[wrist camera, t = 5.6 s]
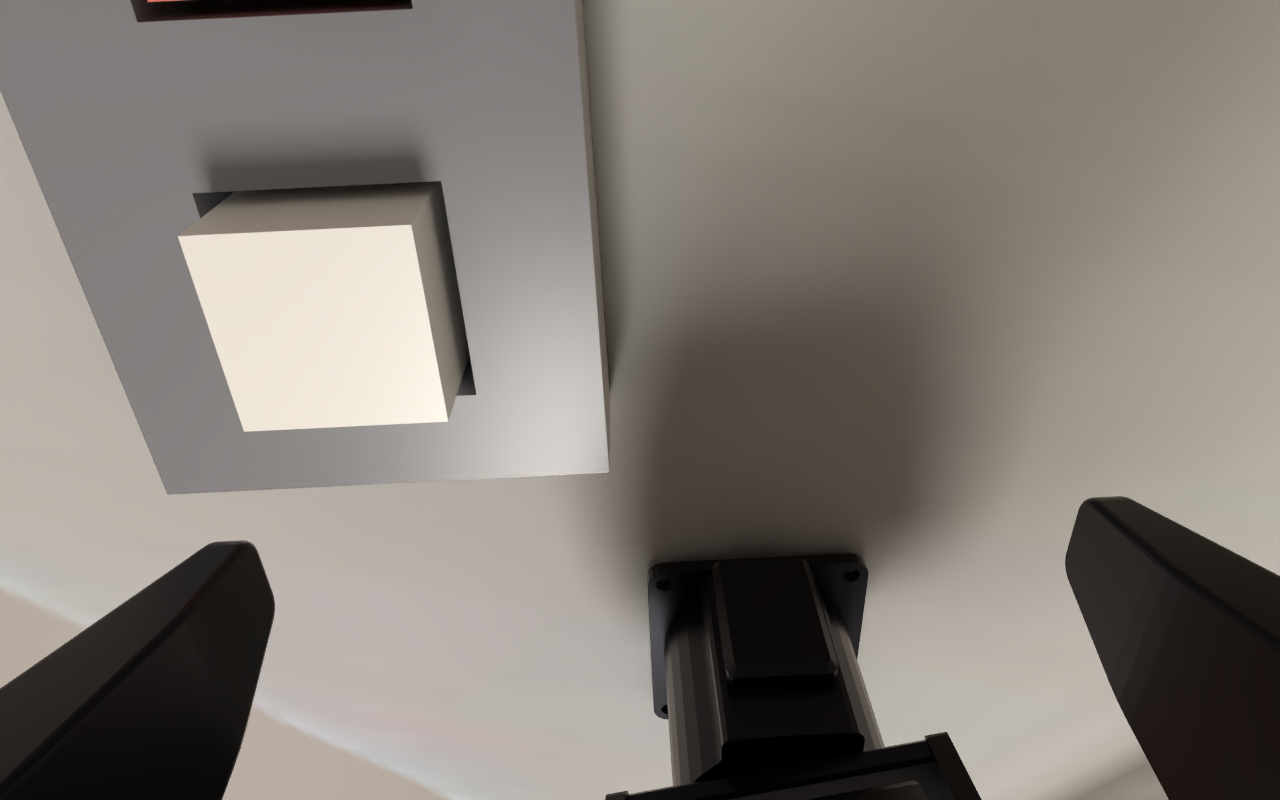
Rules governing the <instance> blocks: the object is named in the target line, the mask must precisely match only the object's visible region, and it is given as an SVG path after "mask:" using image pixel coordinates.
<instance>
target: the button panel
mask: <svg viewBox="0 0 1280 800" xmlns="http://www.w3.org/2000/svg"><path fill="white" fill-rule="evenodd" d="M0 91H1V93H2V96H3V98H4V101H5V103H6V105H7V108H8V110H9V113H10V115H11V117H12V120H13V122H14V125H15V127H16V129H17V132H18V134H19V137H20V139H21V142H22V144H23V146H24V149H25V151H26V154H27V156H28V158H29V161H30V163H31V166H32V168H33V171H34V173H35V175H36V178H37V180H38V183H39V185H40V187H41V190H42V192H43V195H44V197H45V200H46V202H47V204H48V207H49V209H50V212H51V214H52V216H53V219H54V221H55V224H56V226H57V228H58V231H59V233H60V236H61V238H62V241H63V243H64V245H65V248H66V250H67V253H68V255H69V257H70V260H71V262H72V265H73V267H74V270H75V272H76V274H77V277H78V279H79V282H80V284H81V286H82V289H83V291H84V294H85V296H86V299H87V301H88V303H89V306H90V308H91V311H92V313H93V315H94V318H95V320H96V323H97V325H98V327H99V330H100V332H101V335H102V337H103V340H104V342H105V344H106V347H107V349H108V352H109V354H110V356H111V359H112V361H113V364H114V366H115V369H116V371H117V373H118V376H119V378H120V381H121V383H122V385H123V388H124V390H125V393H126V395H127V398H128V400H129V402H130V405H131V407H132V410H133V412H134V414H135V417H136V419H137V422H138V424H139V426H140V429H141V431H142V434H143V436H144V439H145V441H146V443H147V446H148V448H149V451H150V453H151V455H152V458H153V460H154V463H155V465H156V468H157V470H158V472H159V475H160V477H161V480H162V482H163V484H164V487H165V489H166V492H167V494H168V495H169V494H189V493H209V492H229V491H249V490H269V489H289V488H309V487H330V486H350V485H370V484H390V483H410V482H430V481H450V480H470V479H490V478H510V477H530V476H551V475H571V474H591V473H609V442H610V390H609V375H608V361H607V346H606V332H605V318H604V303H603V289H602V274H601V260H600V246H599V231H598V217H597V202H596V188H595V174H594V159H593V145H592V130H591V116H590V101H589V87H588V73H587V58H586V44H585V29H584V15H583V1H582V0H180V1H159V2H148V1H147V0H0ZM433 181H441V183H442V189H443V195H444V201H445V207H446V213H447V219H448V225H449V231H450V237H451V243H452V249H453V256H454V262H455V268H456V274H457V280H458V286H459V292H460V298H461V304H462V310H463V316H464V322H465V328H466V335H467V341H468V347H469V353H470V354H469V357H468V360H467V363H466V367H465V370H464V373H463V376H462V379H461V383H460V386H459V389H458V392H457V395H456V399H455V402H454V405H453V408H452V411H451V415H450V418H449V421H448V422H431V423H411V424H390V425H370V426H350V427H330V428H310V429H290V430H270V431H249V432H244V430H243V427H242V424H241V421H240V418H239V416H238V413H237V410H236V407H235V404H234V401H233V398H232V395H231V392H230V389H229V386H228V383H227V380H226V377H225V374H224V371H223V368H222V365H221V362H220V360H219V357H218V354H217V351H216V348H215V345H214V342H213V339H212V336H211V333H210V330H209V327H208V324H207V321H206V318H205V315H204V312H203V309H202V306H201V303H200V301H199V298H198V295H197V292H196V289H195V286H194V283H193V280H192V277H191V274H190V271H189V268H188V265H187V262H186V259H185V256H184V253H183V250H182V247H181V245H180V242H179V239H178V236H179V235H180V234H181V233H182V232H184V231H185V230H186V229H188V228H189V227H190V226H191V225H193V224H194V223H195V222H196V221H198V220H199V219H200V218H202V217H203V216H204V215H205V214H207V213H208V212H209V211H211V210H212V209H213V208H214V207H216V206H217V205H218V204H219V203H221V202H222V201H223V200H225V199H226V198H227V197H228V196H230V195H231V194H232V193H234V192H235V191H248V190H269V189H289V188H310V187H330V186H351V185H371V184H392V183H412V182H433Z"/></svg>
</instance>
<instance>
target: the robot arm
mask: <svg viewBox="0 0 1280 800" xmlns="http://www.w3.org/2000/svg"><path fill="white" fill-rule="evenodd" d="M1065 566H1066V573H1067V577H1068V580H1069V582H1070V585H1071V587H1072V590H1073V592H1074V595H1075V597H1076V600H1077V602H1078V605H1079V607H1080V610H1081V612H1082V615H1083V617H1084V620H1085V622H1086V625H1087V627H1088V630H1089V632H1090V635H1091V637H1092V640H1093V642H1094V645H1095V647H1096V650H1097V653H1098V655H1099V658H1100V660H1101V663H1102V665H1103V668H1104V670H1105V673H1106V675H1107V678H1108V680H1109V683H1110V685H1111V687H1112V689H1113V692H1114V694H1115V696H1116V699H1117V701H1118V703H1119V705H1120V707H1121V709H1122V711H1123V713H1124V715H1125V717H1126V719H1127V721H1128V723H1129V725H1130V727H1131V729H1132V731H1133V733H1134V734H1135V736H1136V738H1137V740H1138V742H1139V744H1140V746H1141V748H1142V750H1143V751H1144V753H1145V755H1146V757H1147V759H1148V761H1149V763H1150V765H1151V767H1152V768H1153V770H1154V772H1155V774H1156V776H1157V778H1158V780H1159V782H1160V783H1161V785H1162V787H1163V789H1164V791H1165V793H1166V795H1167V797H1168V799H1169V800H1280V576H1279V575H1277V574H1275V573H1273V572H1271V571H1269V570H1267V569H1265V568H1263V567H1261V566H1259V565H1257V564H1255V563H1253V562H1252V561H1250V560H1248V559H1246V558H1244V557H1242V556H1240V555H1238V554H1236V553H1234V552H1232V551H1230V550H1228V549H1226V548H1224V547H1222V546H1221V545H1219V544H1217V543H1215V542H1213V541H1211V540H1209V539H1207V538H1205V537H1203V536H1201V535H1199V534H1197V533H1195V532H1193V531H1192V530H1190V529H1188V528H1186V527H1184V526H1182V525H1180V524H1178V523H1176V522H1174V521H1172V520H1170V519H1168V518H1166V517H1164V516H1162V515H1161V514H1159V513H1157V512H1155V511H1153V510H1151V509H1149V508H1147V507H1145V506H1143V505H1141V504H1139V503H1137V502H1135V501H1133V500H1132V499H1129V498H1127V497H1121V496H1116V497H1097V498H1089V499H1087V500H1085V501H1084V502H1083V503H1082V505H1081V506H1080V508H1079V511H1078V514H1077V518H1076V521H1075V525H1074V528H1073V532H1072V535H1071V539H1070V542H1069V546H1068V549H1067V553H1066V559H1065ZM849 569H855V570H853V571H852V572H848V573H846V572H845V571H847V570H849ZM663 578H666V579H670V580H669V581H666V582H662V581H659V580H660V579H663ZM647 579H648V599H649V620H650V640H651V661H652V681H653V701H654V712H655V714H656V715H657V716H658V717H660V718H663V719H669V734H670V748H671V763H672V778H673V786H672V787H666V788H661V789H655V790H650V791H644V792H639V793H634V794H629V793H628V791H624V792H618V793H613V794H608V795H606V799H605V800H981V798H980V796H979V794H978V792H977V790H976V788H975V786H974V784H973V782H972V780H971V778H970V776H969V774H968V772H967V770H966V769H965V767H964V765H963V763H962V761H961V759H960V757H959V755H958V753H957V751H956V749H955V747H954V745H953V743H952V741H951V739H950V737H949V735H948V733H947V732H944V733H938V734H933V735H927V736H925V740H922V741H916V742H911V743H905V744H900V745H894V746H889V747H884V744H883V740H882V737H881V734H880V731H879V728H878V725H877V722H876V718H875V715H874V712H873V709H872V706H871V703H870V700H869V697H868V693H867V690H866V687H865V684H864V681H863V678H862V675H861V671H860V668H859V665H858V662H857V656H858V649H859V641H860V633H861V626H862V618H863V611H864V603H865V595H866V588H867V580H868V570H867V567H866V564H865V562H864V560H863V559H862V557H861V556H859V555H857V554H850V553H848V554H828V555H808V556H788V557H768V558H748V559H728V560H708V561H688V562H668V563H660V564H656V565H655V566H653V567H652V568H651V569H650V570H649V571H648V576H647ZM274 612H275V602H274V596H273V593H272V590H271V587H270V584H269V582H268V579H267V576H266V573H265V570H264V568H263V565H262V562H261V559H260V557H259V554H258V551H257V549H256V547H255V546H254V545H253V544H252V543H250V542H248V541H224V542H214V543H210V544H208V545H207V546H205V547H204V548H202V549H201V550H199V551H198V552H196V553H195V554H193V555H192V556H191V557H189V558H188V559H186V560H185V561H183V562H182V563H181V564H179V565H178V566H176V567H175V568H173V569H172V570H170V571H169V572H168V573H166V574H165V575H163V576H162V577H160V578H159V579H157V580H156V581H155V582H153V583H152V584H150V585H149V586H147V587H146V588H145V589H143V590H142V591H140V592H139V593H137V594H136V595H134V596H133V597H132V598H130V599H129V600H127V601H126V602H124V603H123V604H121V605H120V606H119V607H117V608H116V609H114V610H113V611H111V612H110V613H109V614H107V615H106V616H104V617H103V618H101V619H100V620H98V621H97V622H96V623H94V624H93V625H91V626H90V627H88V628H87V629H85V630H84V631H83V632H81V633H80V634H78V635H77V636H75V637H74V638H73V639H71V640H70V641H68V642H67V643H65V644H64V645H62V646H61V647H60V648H58V649H57V650H55V651H54V652H52V653H51V654H49V655H48V656H47V657H45V658H44V659H42V660H41V661H39V662H38V663H37V664H35V665H34V666H32V667H31V668H29V669H28V670H26V671H25V672H24V673H22V674H21V675H19V676H18V677H17V678H15V679H13V680H12V681H11V682H9V683H8V684H6V685H5V686H3V687H2V688H0V800H222V798H223V795H224V792H225V790H226V787H227V785H228V782H229V779H230V777H231V774H232V771H233V768H234V765H235V762H236V759H237V757H238V753H239V751H240V748H241V744H242V741H243V737H244V734H245V731H246V727H247V723H248V719H249V715H250V711H251V707H252V703H253V699H254V695H255V691H256V687H257V683H258V679H259V675H260V671H261V667H262V663H263V659H264V655H265V651H266V647H267V643H268V639H269V635H270V631H271V627H272V623H273V619H274Z"/></svg>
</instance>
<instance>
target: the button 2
mask: <svg viewBox="0 0 1280 800" xmlns="http://www.w3.org/2000/svg"><path fill="white" fill-rule="evenodd" d="M178 239H179V242H180V245H181V247H182V250H183V253H184V256H185V259H186V262H187V265H188V268H189V271H190V274H191V277H192V280H193V283H194V286H195V289H196V292H197V295H198V298H199V301H200V303H201V306H202V309H203V312H204V315H205V318H206V321H207V324H208V327H209V330H210V333H211V336H212V339H213V342H214V345H215V348H216V351H217V354H218V357H219V360H220V362H221V365H222V368H223V371H224V374H225V377H226V380H227V383H228V386H229V389H230V392H231V395H232V398H233V401H234V404H235V407H236V410H237V413H238V416H239V418H240V421H241V424H242V427H243V430H244V432H249V431H270V430H290V429H310V428H330V427H350V426H370V425H390V424H411V423H431V422H448V421H449V418H450V415H451V411H452V408H453V405H454V402H455V399H456V395H457V392H458V389H459V386H460V383H461V379H462V376H463V373H464V370H465V367H466V363H467V360H468V357H469V354H470V353H469V347H468V341H467V335H466V328H465V322H464V316H463V310H462V304H461V298H460V292H459V286H458V280H457V274H456V268H455V262H454V256H453V249H452V243H451V237H450V231H449V225H448V219H447V213H446V207H445V201H444V195H443V189H442V183H441V181H433V182H412V183H392V184H371V185H351V186H330V187H310V188H289V189H269V190H248V191H235V192H234V193H232V194H231V195H230V196H228V197H227V198H226V199H225V200H223V201H222V202H221V203H219V204H218V205H217V206H216V207H214V208H213V209H212V210H211V211H209V212H208V213H207V214H205V215H204V216H203V217H202V218H200V219H199V220H198V221H196V222H195V223H194V224H193V225H191V226H190V227H189V228H188V229H186V230H185V231H184V232H182V233H181V234H180V235H179V236H178Z"/></svg>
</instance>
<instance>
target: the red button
mask: <svg viewBox="0 0 1280 800" xmlns="http://www.w3.org/2000/svg"><path fill="white" fill-rule="evenodd" d="M147 1H148V2H159V1H180V0H147Z"/></svg>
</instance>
